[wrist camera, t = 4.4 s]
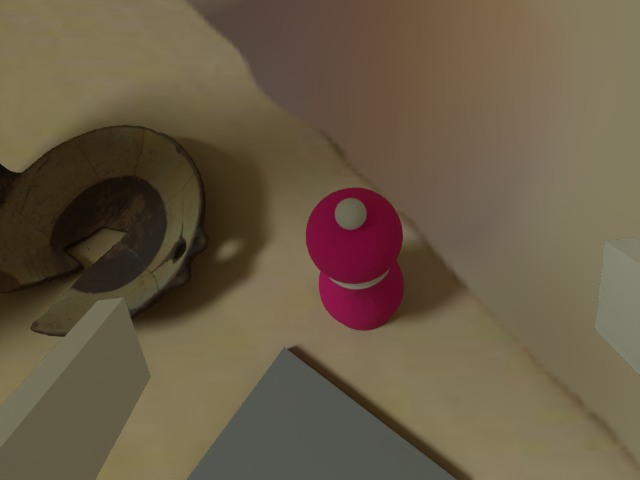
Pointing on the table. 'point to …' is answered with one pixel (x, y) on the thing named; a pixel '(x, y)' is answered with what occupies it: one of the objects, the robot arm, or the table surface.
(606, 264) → the robot arm
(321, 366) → the table surface
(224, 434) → the charcoal notebook
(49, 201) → the ancient handled dish
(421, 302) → the table surface
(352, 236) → the pepper mill
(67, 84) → the table surface
